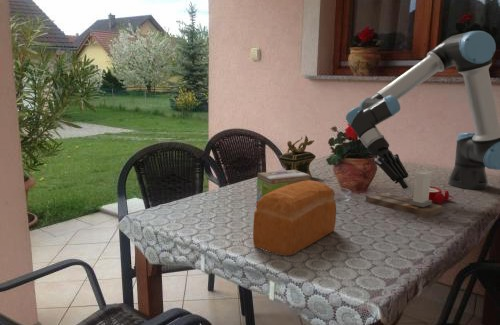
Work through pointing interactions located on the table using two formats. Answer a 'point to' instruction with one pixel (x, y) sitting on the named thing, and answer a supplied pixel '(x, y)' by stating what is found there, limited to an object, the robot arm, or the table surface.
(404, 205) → the board
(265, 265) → the table surface
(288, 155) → the decorative box
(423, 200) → the fader tab
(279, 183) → the tea box
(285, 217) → the bread
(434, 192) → the alarm clock
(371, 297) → the table surface
